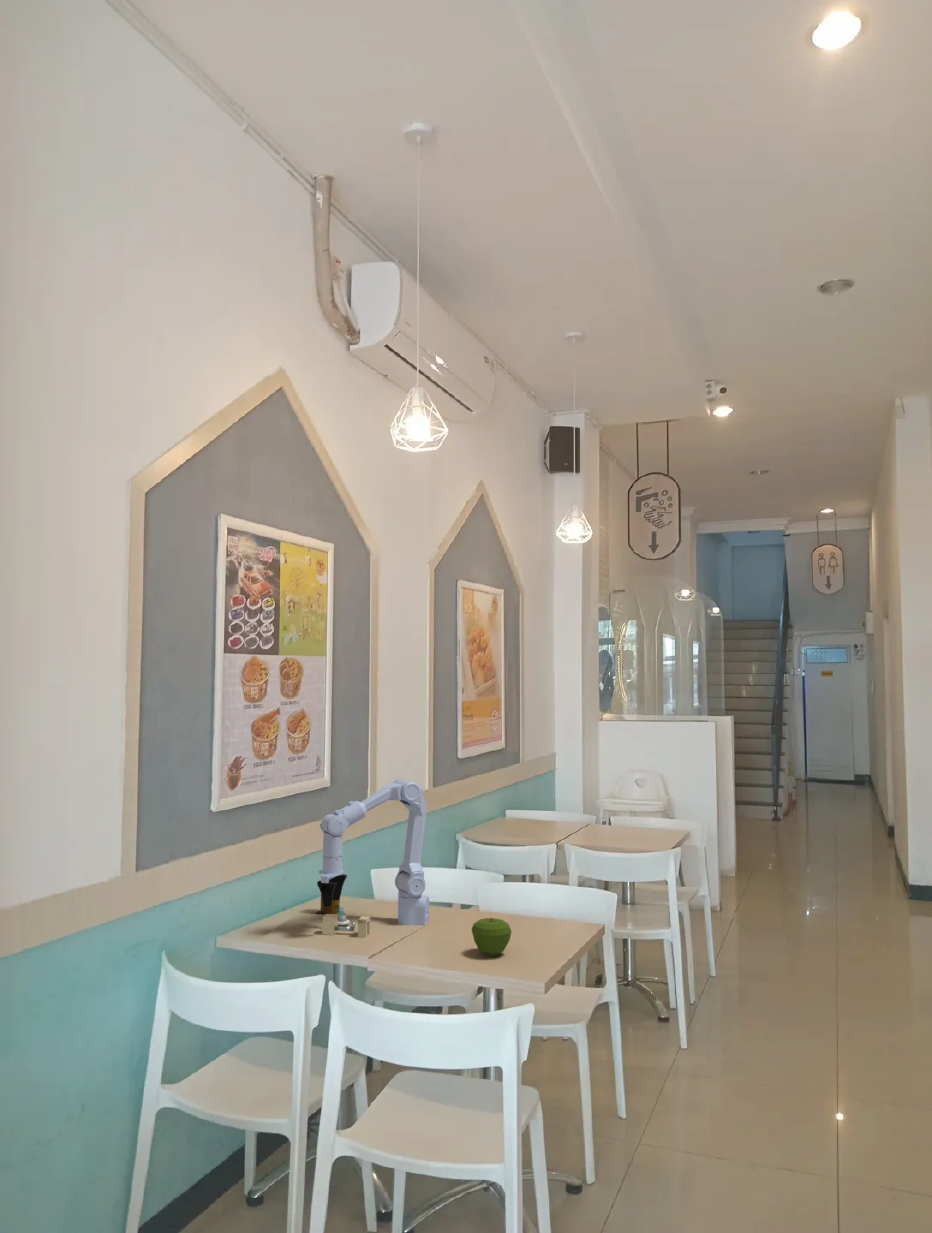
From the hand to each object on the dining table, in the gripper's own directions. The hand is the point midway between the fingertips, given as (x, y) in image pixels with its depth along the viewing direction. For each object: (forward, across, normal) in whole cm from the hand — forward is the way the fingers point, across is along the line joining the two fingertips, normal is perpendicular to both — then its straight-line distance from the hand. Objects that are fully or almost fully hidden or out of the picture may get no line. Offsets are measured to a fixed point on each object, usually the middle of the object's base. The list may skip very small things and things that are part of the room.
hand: (331, 902), depth 264 cm
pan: (+8, -10, 0) cm, 13 cm away
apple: (+10, +9, +49) cm, 50 cm away
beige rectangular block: (+9, +1, +3) cm, 9 cm away
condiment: (+10, -24, -9) cm, 28 cm away
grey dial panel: (+9, -4, +5) cm, 11 cm away
